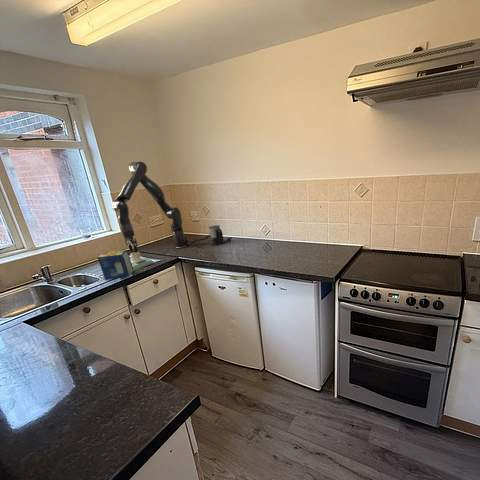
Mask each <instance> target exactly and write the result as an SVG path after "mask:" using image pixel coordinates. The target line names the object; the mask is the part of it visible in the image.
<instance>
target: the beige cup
mask: <svg viewBox="0 0 480 480" xmlns="http://www.w3.org/2000/svg"><path fill="white" fill-rule="evenodd" d="M129 256H130V260H131V259H132V260H133V261H137V260H140V259H141V257H142V256H141V253H140V251H138V252H137V253H135V252H131V253H130V254H129Z"/></svg>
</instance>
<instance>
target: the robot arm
mask: <svg viewBox="0 0 480 480" xmlns="http://www.w3.org/2000/svg"><path fill="white" fill-rule="evenodd" d="M128 170H129V172H130V174H132V175H131V177H130V178H129V180H127V181H126V183H125V184H124V185H123V187H122V189H121V190H120V193H119V195H118V196H117V197H116V198H115V200H114V201H113V202H112V209H113V211H115V212H116V213H119V215H118V216H117V219H118V223H119V226H120V230H121V233H122V237H123V238H124V241H125V245H126V246H127V247H128V250H129V252H133V251H134V252H135V253H137V252H139V250H138V247H139V246H138V242H137V239H136V238H134V237H135V236H136V233H135V231H134V227H133V224H132V222H131V219H130V208H129V206H128V203H127V202H129V201H130V200H131V198H132V196H133V194H134V193H135V190H136V188H137V187H138V185H139V184H141V185H142V187H143V188H144V189H145V190H146V191H147V193H148V194H149V195H150V196H151V198H152V199H153V200H154V201H155V202H156V204H157V205H158V206H159V207H160V209H161V210H162V212H163V213H164V215H165V216H166V218H167V219H170V220H172V222H171V223H170V225H169V226H170V231H171V234H172V237H173V238H172V239H173V243H174V247H175V249H183V248H186V247H188V246H189V242H190V243H191V244H193V243H195V242H197V241H201V240H205V239H207V238H208V237H209V236H211V235H210V233H209V234H207V235H206V237H204V238H199V239H196V240H193V241H191V240H188V239H187V236H186V234H185V231H184V226H183V216H182V212H181V209H180V208H179V207H177V206H174V207H172V206H171V205H169V203H168V202H167V200H166V195H165V192H164V190H163V189H162V188H161V186H159V184H158V183H156V182H155V181H153V180H152V179H150V177H148V176H147V172H148V166H147V164H146V163H145V162H144V161H132V162H131V163H129V165H128ZM134 252H133V253H134Z"/></svg>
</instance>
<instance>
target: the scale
mask: <svg viewBox="0 0 480 480" xmlns="http://www.w3.org/2000/svg"><path fill="white" fill-rule="evenodd" d="M130 260H131V264H132V267H133V270H135V269H138V268H142V267H144V266H147V265H151V264H153V259H150V258H147V257H144V256H141V259H140V260H137V261H133V260H132V259H131V258H130Z"/></svg>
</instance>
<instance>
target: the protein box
mask: <svg viewBox="0 0 480 480" xmlns="http://www.w3.org/2000/svg"><path fill="white" fill-rule="evenodd" d="M97 260H98V263H99V266H100V269H101V271H102V275H103V279H104V280H112V279H119V278H127V277H129V276H131V275H132V274H133V272H135V271H134V270H135V269H133V267H132V264H131V256H130V254H129V251H128V249H123V250H114V251H106V252H103V253H102V254H100V255H99V256H97Z"/></svg>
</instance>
